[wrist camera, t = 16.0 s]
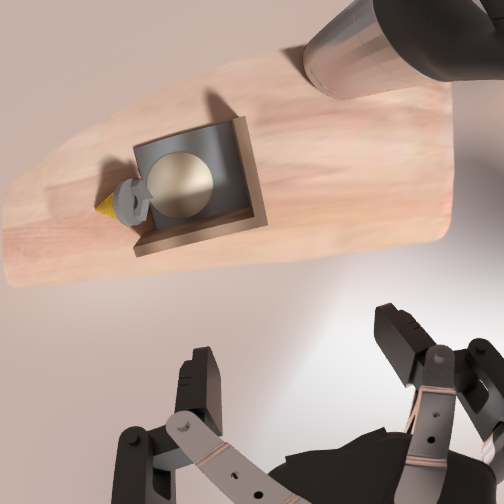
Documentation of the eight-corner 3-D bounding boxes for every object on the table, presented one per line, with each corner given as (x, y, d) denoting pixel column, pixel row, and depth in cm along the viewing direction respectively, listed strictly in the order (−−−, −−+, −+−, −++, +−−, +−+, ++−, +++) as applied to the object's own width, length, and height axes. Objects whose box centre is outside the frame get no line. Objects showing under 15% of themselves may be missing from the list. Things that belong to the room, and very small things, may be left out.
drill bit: (170, 218, 32) (111, 226, 35) (164, 173, 31) (106, 187, 34) (142, 227, 27) (83, 234, 30) (135, 174, 26) (76, 191, 29)
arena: (241, 119, 31) (244, 116, 26) (261, 213, 35) (268, 225, 31) (120, 153, 30) (104, 156, 26) (146, 242, 35) (136, 257, 30)
